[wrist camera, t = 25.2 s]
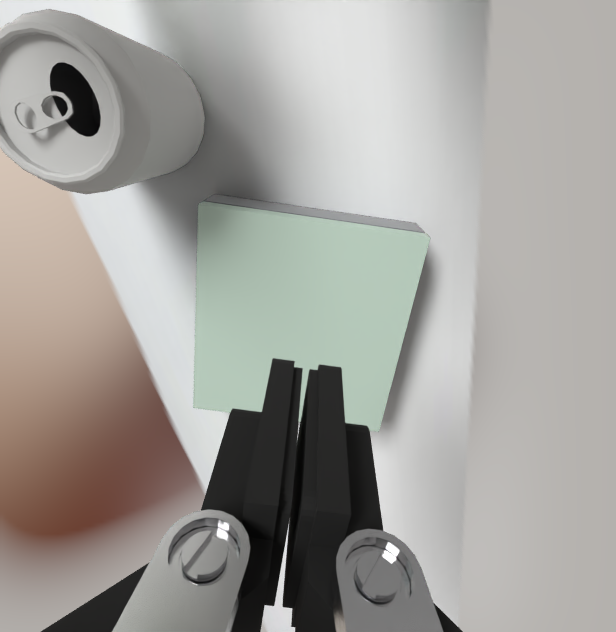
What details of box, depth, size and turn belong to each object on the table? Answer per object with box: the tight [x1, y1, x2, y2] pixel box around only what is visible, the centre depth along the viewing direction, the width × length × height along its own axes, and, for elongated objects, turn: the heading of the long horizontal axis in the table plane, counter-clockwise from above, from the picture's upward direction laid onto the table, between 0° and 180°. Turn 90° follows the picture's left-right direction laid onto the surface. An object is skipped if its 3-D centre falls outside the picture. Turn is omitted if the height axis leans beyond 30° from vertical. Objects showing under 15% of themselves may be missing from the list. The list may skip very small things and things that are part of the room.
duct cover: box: [193, 201, 430, 432], centre depth 30 cm, size 16×15×1 cm
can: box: [0, 9, 205, 194], centre depth 23 cm, size 8×8×12 cm
